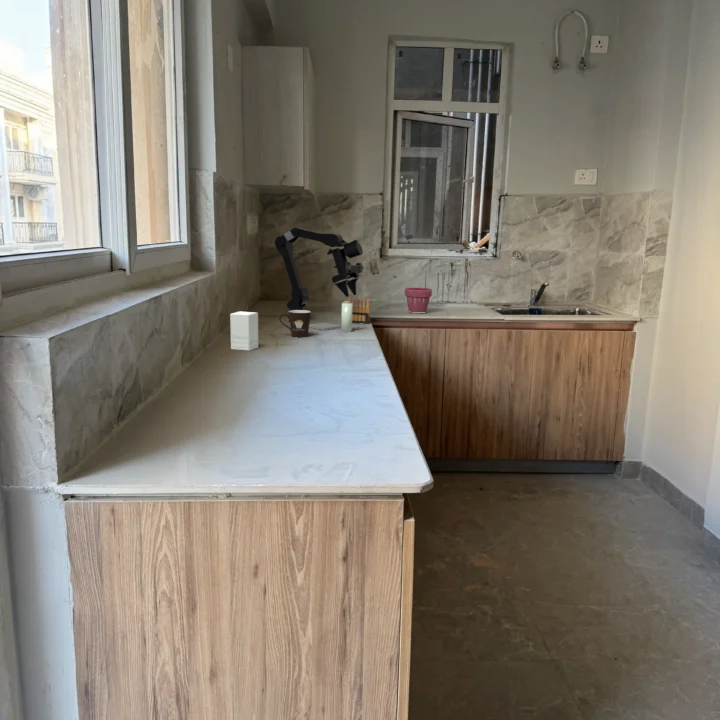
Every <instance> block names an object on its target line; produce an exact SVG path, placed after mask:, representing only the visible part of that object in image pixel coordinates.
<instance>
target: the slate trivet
mask: <svg viewBox="0 0 720 720" xmlns="http://www.w3.org/2000/svg"><path fill="white" fill-rule="evenodd" d="M309 327H312V328H311V329H314V328H316V329H315V330H319V329H321V330H320V331H329V330H328V329H331V330H338V329H337V328H340V329H341V324H335V323H334V324H333V323H329V322H319V323H309Z"/></svg>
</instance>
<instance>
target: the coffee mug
mask: <svg viewBox="0 0 720 720" xmlns="http://www.w3.org/2000/svg"><path fill="white" fill-rule="evenodd" d="M311 313H312V312H311V311H310V310H305V309H304V310H291V311H289V310H288V314H287V313H282V314H281V315H279V317H278V318H279V322H280V324H282V325H283V326H284V327H286V328H287V329H289V331H290V333H291V334H290V335H291V338H294V337H298V338H297V339H303V338H302V337H306V338H308V337H307V336H308V335H309V330H310V328H309V324H310V321H311ZM284 316H285V317H287V318H288V321H289V320H290V322H289V325H290V326H288V325H287V324H285V323H284V322H283V321H282V317H284ZM300 337H301V338H300Z"/></svg>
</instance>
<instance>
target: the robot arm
mask: <svg viewBox="0 0 720 720" xmlns="http://www.w3.org/2000/svg"><path fill="white" fill-rule="evenodd" d="M299 238H303V239H305V240H306V239H308V240H311V241H316V242H320V243H322V244H323V245H325V246H327V247H330V248H329V249H328V252H327V254H326V255H328V256H329V255H332V258H333V262H334V265H333V267H334V269H336V271H337V274H336V275H334V276H332V277H331V282H332V284H334V285H335V286H336V287H337V288H338V289H339V290H340V291H341V293H342V294H343V295H344V296H345V297H346V298H349V297H350V295H349V294H350V293H349V290H350V291H351V293H352V295H353V296H356V295H357V282H358V280H359V279H360V273H363V269H364V265H363V264H362V262H356V263H355V264H352V262H350V261H348V258H349V259H353V258H357V257H358V256H362V255H363V252H364V251H363V246H361V244H360V242H359V241H358V239H353V240H352V241H350V242H347V241H346V240H344V239H343V237H342V235H341V234H339V233H322V232H319V231H313V230H310V229H304V228H302V227H293V228H292V229H290V230H289V231H287V232H285V233H284V234H282V235H280V236H277V237H276V238H275V240H274V246H275V248H276V250H277V252H278V254H279V255H280V256H281V257H282V260H283V263H284V267H285V270H286V273H287V276H288V280H289V283H290V286H291V287H290V288H291V291H290V298H291V299H290V300H289V301H288V302H287V303H286V306H287V309H289V310H288V312H289V311H291V310H305V309H304V308H306V307H307V306H306V305H307V303H309V301H310V296H311V295H310V293H309V289H308V287H307V286H305V287H304V286H303V284H302V281H301V278H300V275H299V272H298V269H297V266H296V261H295V258H294V255H293V254H294V253H293V252H294V245H293V244H294V243H295V242H296V241H297V240H298V239H299ZM288 323H290V320H289V319H288Z"/></svg>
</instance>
